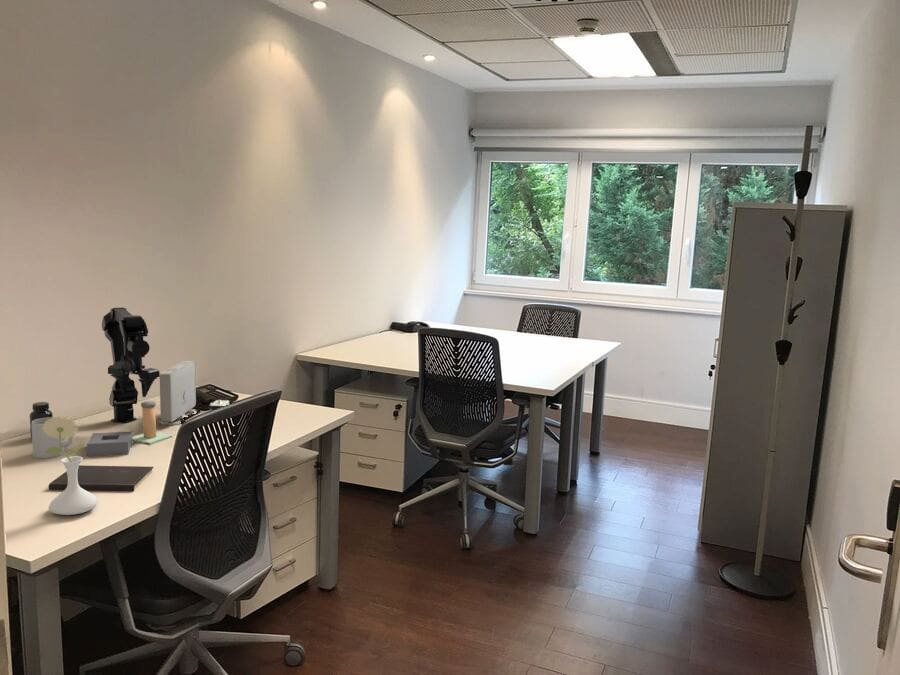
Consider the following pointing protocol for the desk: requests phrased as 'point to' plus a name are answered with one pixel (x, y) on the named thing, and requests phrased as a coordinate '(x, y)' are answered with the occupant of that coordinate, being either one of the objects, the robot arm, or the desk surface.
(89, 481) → the hardcover book
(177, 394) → the network device
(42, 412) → the supplement bottle
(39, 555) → the desk surface
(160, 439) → the mat
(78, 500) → the flower in vase
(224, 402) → the pneumatic valve
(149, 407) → the plug
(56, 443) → the mug
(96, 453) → the grey peg hole block
